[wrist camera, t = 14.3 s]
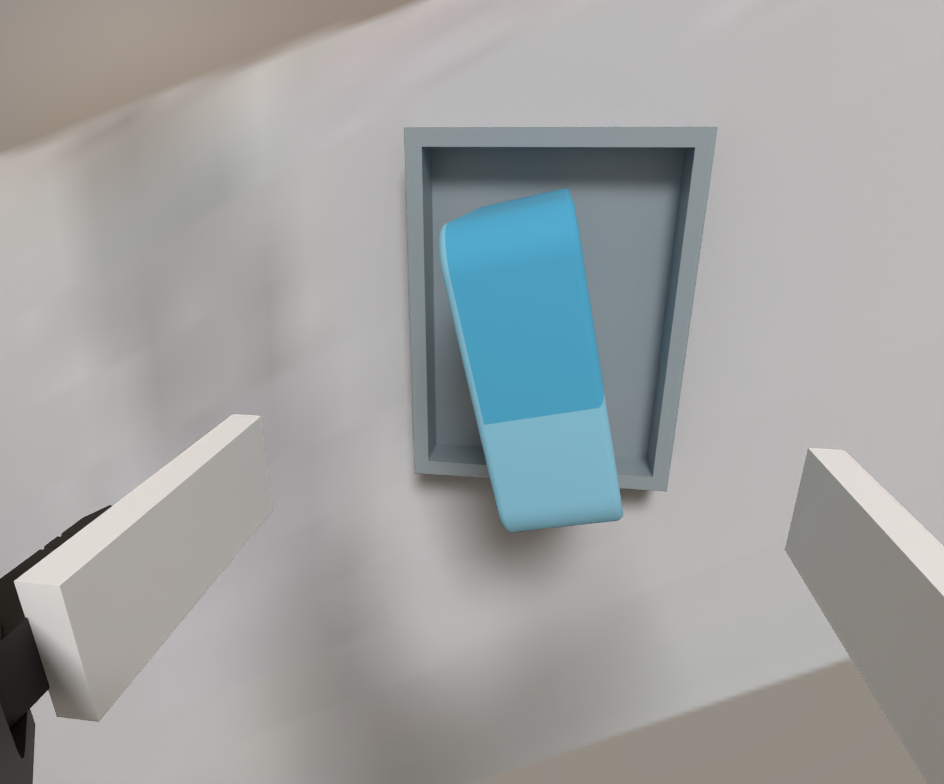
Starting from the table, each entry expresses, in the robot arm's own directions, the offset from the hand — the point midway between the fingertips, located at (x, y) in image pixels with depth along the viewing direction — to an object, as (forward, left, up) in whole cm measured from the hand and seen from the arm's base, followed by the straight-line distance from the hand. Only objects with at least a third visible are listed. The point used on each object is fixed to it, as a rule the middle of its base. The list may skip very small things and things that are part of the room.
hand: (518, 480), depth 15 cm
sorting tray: (0, 0, -19) cm, 19 cm away
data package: (0, 0, -18) cm, 18 cm away
